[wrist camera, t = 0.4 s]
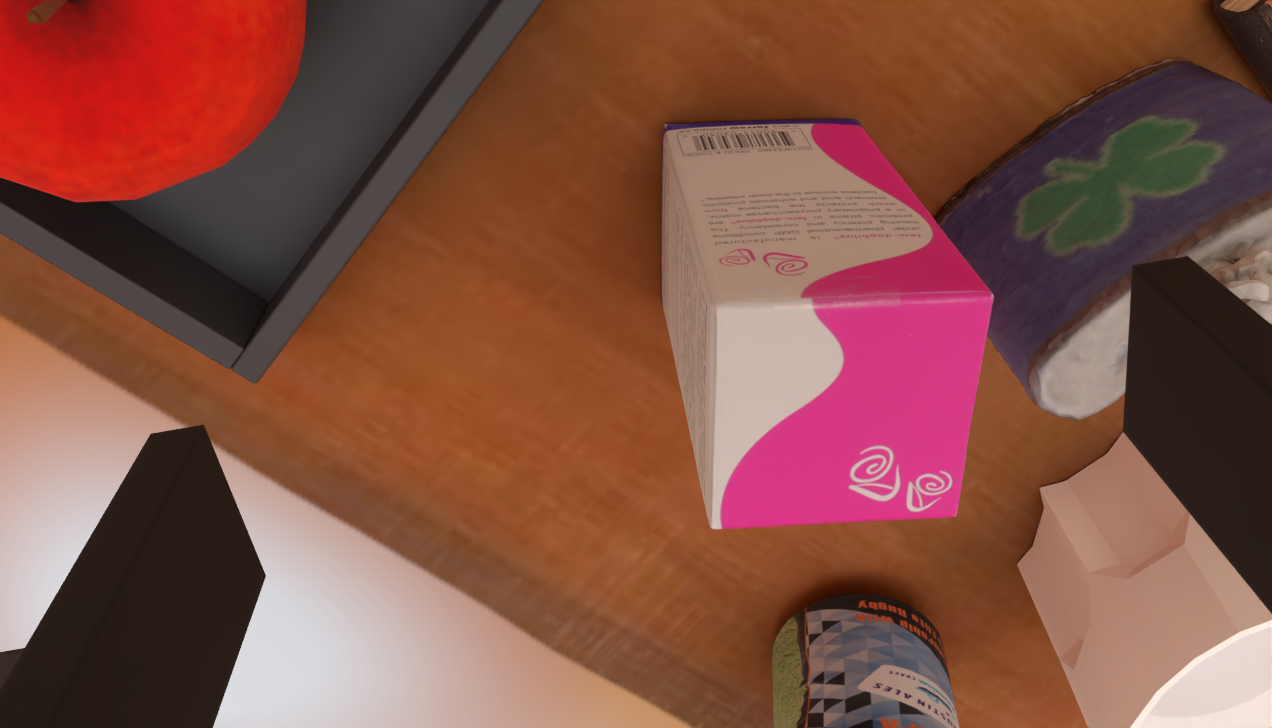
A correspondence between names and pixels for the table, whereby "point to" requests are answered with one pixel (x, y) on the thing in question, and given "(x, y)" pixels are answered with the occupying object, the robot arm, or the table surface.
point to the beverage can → (860, 667)
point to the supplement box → (815, 326)
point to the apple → (138, 89)
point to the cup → (1146, 604)
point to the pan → (282, 181)
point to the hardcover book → (1250, 34)
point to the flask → (1116, 222)
